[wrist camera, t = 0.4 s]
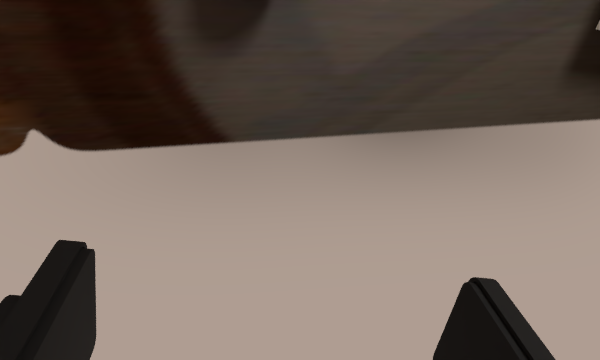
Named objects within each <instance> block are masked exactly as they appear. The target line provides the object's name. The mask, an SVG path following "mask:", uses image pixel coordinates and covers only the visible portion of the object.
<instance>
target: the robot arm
mask: <svg viewBox="0 0 600 360" xmlns="http://www.w3.org/2000/svg"><path fill="white" fill-rule="evenodd" d="M95 292H96V291H95V251H94V249H87V245H86V243H85V242H77V241H66V240H59V241H57V243H56V244H55V245H54V247H53V248H52V250H51V251H50V253H49V254H48V256H47V257H46V259H45V261H44V262H43V263H42V265H41V266H40V268H39V269H38V271H37V272H36V274H35V276H34V277H33V278H32V280H31V282H30V283H29V285H28V286H27V287H26V289H25V290H24V292H23V294H22V295H21V296H18V295H9V296H7V297H5V298H4V299H3V300H2V302H1V303H0V360H90V357H91V354H92V352H93V349H94V345H95V341H96V295H95V294H96V293H95ZM433 360H555V359H554V357H553V356H552V354H551V353H550V352H549V350H548V349H547V348H546V346H545V345H544V344H543V342H542V341H541V340H540V338H539V337H538V336H537V334H536V333H535V332H534V330H533V329H532V328H531V326H530V325H529V323H528V322H527V321H526V319H525V318H524V317H523V315H522V314H521V313H520V312H519V310H518V309H517V307H516V306H515V305H514V304H513V302H512V301H511V299H510V298H509V297H508V295H507V294H506V293H505V291H504V290H503V288H502V287H501V286H500V284H499V283H498V282H497V281H496V280H494V279H487V278H476V277H475V278H471V279H470V280H469V281H468V282H466V283H464V284H463V286H462V288H461V290H460V293H459V295H458V297H457V300H456V302H455V305H454V307H453V309H452V312H451V314H450V317H449V319H448V321H447V324H446V326H445V329H444V331H443V333H442V336H441V339H440V341H439V343H438V345H437V348H436V350H435V353H434V356H433Z"/></svg>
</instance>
